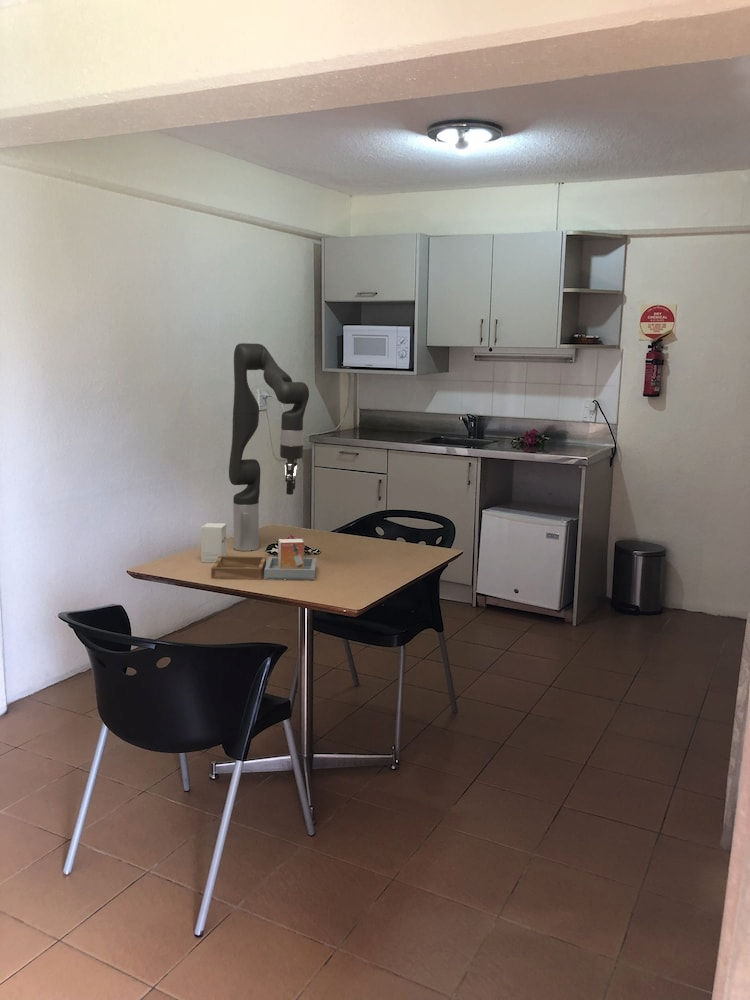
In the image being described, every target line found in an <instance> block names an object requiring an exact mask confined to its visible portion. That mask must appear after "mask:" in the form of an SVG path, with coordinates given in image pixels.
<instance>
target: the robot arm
mask: <svg viewBox="0 0 750 1000" xmlns="http://www.w3.org/2000/svg"><path fill="white" fill-rule="evenodd" d="M261 370H262V371H263V379H264V382H265V383H266V385H268V387H269V388H271V389H272V390H273V391H274V394H275V396H276V399H277V401H278V402H280V403H281V404H283V405H284V404H285V405H293V406H292V408H291V409H290V410H285V411H283V412H282V414H281V429H280V437H279V438H280V445H279V447H280V448H279V449H280V450H279V456H280V458H281V459H286V460H287V461H286V462H285V463H284V468H285V469H284V470H285V471H284V473H285V475H284V476H285V480H284V481H285V483H286V491H285V492H286V493H285V494H286V495H290V496H292V495H294V490H296V478H297V474H298V467H299V465H298V463H299V462H297V461H298V460H300V459H303V458H304V417H305V411H306V408H307V404H308V402H309V397H310V389H309V387H308V385H307V384H306V383H305V382H302V381H293V380H292V377H291V376H290V375H289V374H288V373H287V372H286V371H284V370H283V369H282V368H281V367H280V366H279V365H278V363H277V362H276V361H275V359H274V357H273V356H272V354H271V353H270V351H268V349H267V348H266V346H265V345H263V344H261V343H246V342H243V343H240V342H239V343H238V344H236V346H235V348H234V351H233V379H234V385H233V386H234V387H233V388H234V393H233V406H232V408H233V409H232V433H231V437H232V438H231V439H232V440H231V449H230V456H229V466H228V480H229V481H230V484H231V485H233V486H245V485H247V486H246V487H245V489H242V490H241V491H240V492H238V493H236V494H234V496H233V501H232V502H233V505H232V506H233V510H232V511H233V549H234V550H237V551H242V552H243V551H244V552H249V551H251V550H252V551H256V550H258V549H259V548H260V547H259V546H260V542H259V541H260V539H259V538H260V535H259V534H260V531H259V528H260V527H259V526H260V525H259V524H260V523H259V521H260V516H259V515H260V513H259V504H260V494H261V493H260V491H261V464H260V463H259V461H258V460H257V459H254V458H253V459H252V458H251V459H243V454H244V452H245V451H244V450H245V448H246V446H247V445H248V443H249V441H250V440H251V439H252V437H253V436H254V434H255V433H256V431H257V429H258V428H259V421H260V406H259V402H258V401H257V399H256V397H255V395H254V394H253V392H252V390H251V388H250V386H249V383H248V371H261Z"/></svg>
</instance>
